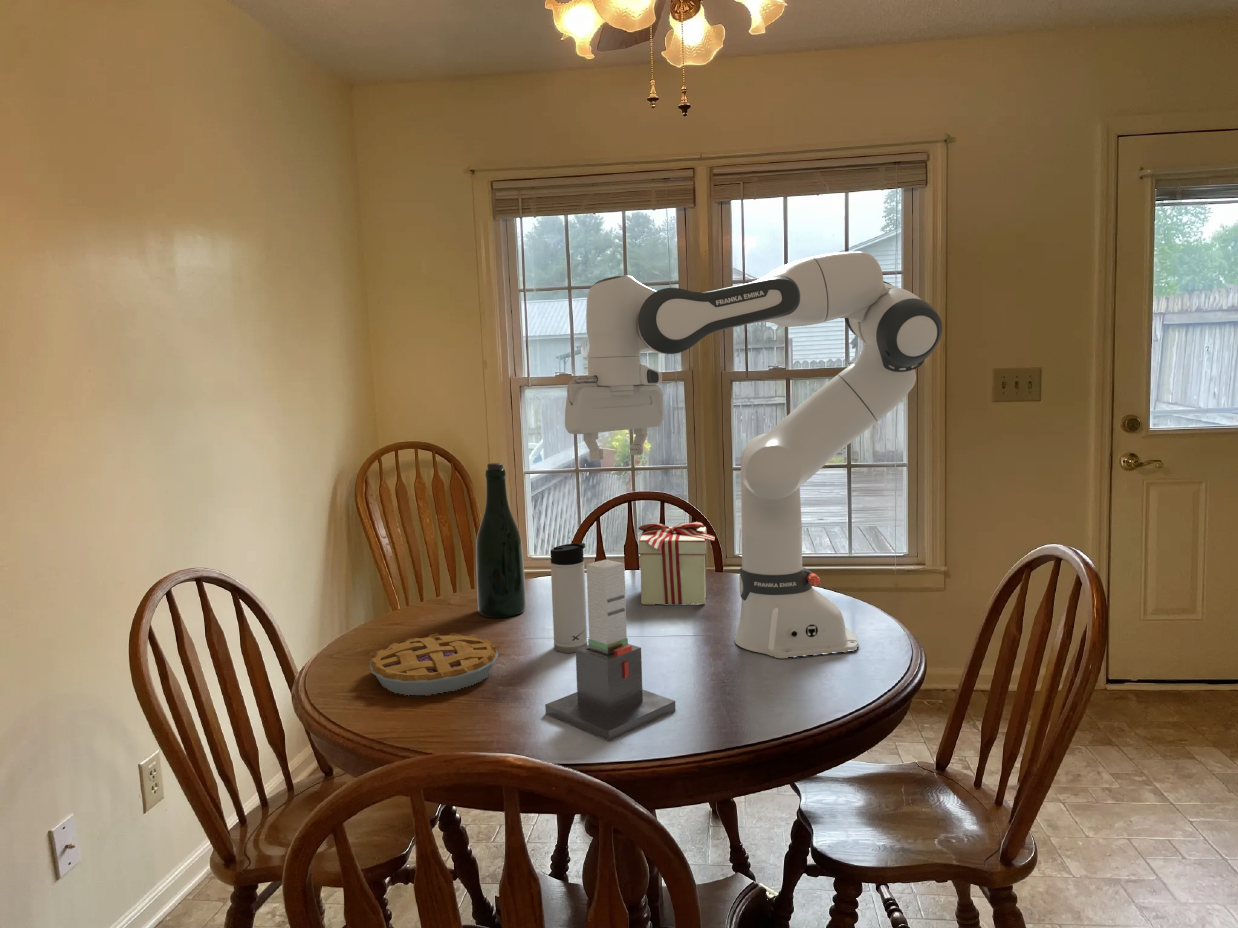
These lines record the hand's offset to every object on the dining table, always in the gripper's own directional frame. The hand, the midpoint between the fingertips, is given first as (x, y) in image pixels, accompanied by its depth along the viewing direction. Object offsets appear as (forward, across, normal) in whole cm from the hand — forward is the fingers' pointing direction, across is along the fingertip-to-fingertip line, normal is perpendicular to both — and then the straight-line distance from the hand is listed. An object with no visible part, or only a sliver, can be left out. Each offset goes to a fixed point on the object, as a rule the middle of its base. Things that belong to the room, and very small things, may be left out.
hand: (617, 457), depth 138 cm
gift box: (+37, +40, +23) cm, 59 cm away
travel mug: (+37, +2, +16) cm, 40 cm away
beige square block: (+31, -14, -11) cm, 36 cm away
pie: (+38, -23, +23) cm, 50 cm away
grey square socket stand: (+37, -14, -11) cm, 41 cm away
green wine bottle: (+37, +7, +45) cm, 59 cm away
